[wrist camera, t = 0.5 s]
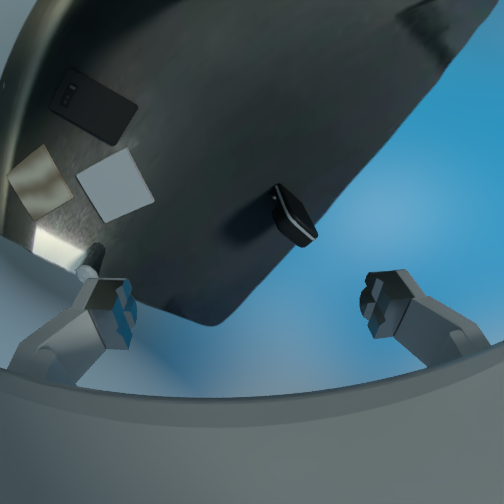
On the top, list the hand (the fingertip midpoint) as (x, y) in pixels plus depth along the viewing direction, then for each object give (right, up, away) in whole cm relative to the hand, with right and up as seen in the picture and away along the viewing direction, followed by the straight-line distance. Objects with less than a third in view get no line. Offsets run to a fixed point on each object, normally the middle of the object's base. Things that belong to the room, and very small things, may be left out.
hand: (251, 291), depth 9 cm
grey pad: (-24, +13, +36) cm, 45 cm away
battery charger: (+6, +11, +42) cm, 44 cm away
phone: (-26, +25, +27) cm, 45 cm away
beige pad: (-41, +14, +33) cm, 54 cm away
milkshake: (-32, +2, +44) cm, 54 cm away
